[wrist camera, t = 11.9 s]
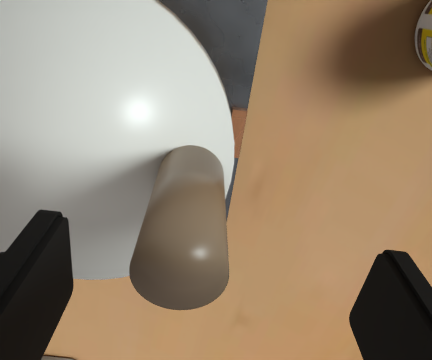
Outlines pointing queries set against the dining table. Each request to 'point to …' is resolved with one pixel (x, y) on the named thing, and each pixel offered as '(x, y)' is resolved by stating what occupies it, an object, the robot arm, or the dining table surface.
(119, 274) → the white piece
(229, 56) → the mount
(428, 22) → the supplement bottle
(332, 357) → the dining table surface
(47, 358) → the flask
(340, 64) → the dining table surface
